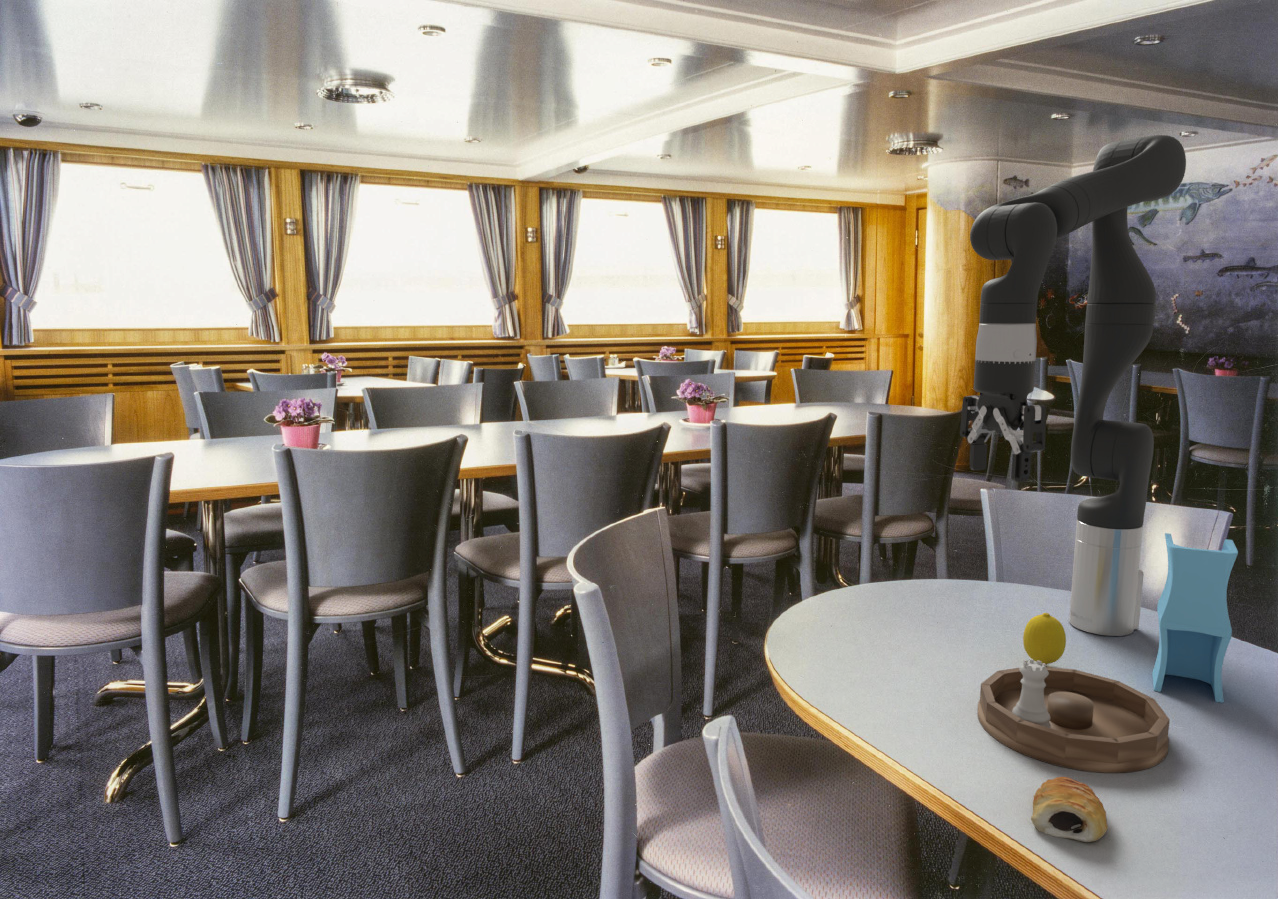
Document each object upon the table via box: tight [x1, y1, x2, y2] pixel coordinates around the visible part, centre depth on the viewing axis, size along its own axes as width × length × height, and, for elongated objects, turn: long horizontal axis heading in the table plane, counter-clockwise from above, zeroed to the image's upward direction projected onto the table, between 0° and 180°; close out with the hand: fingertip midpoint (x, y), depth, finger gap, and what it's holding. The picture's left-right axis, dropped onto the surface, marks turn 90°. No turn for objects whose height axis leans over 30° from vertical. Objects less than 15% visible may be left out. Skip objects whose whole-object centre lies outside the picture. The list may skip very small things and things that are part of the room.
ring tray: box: [977, 666, 1171, 774], centre depth 106 cm, size 21×21×4 cm
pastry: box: [1030, 776, 1109, 843], centre depth 88 cm, size 9×7×4 cm
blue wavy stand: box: [1151, 532, 1239, 704], centre depth 116 cm, size 8×8×20 cm
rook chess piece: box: [1012, 658, 1051, 728], centre depth 104 cm, size 4×4×8 cm
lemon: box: [1022, 612, 1067, 666], centre depth 124 cm, size 6×6×8 cm
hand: (997, 475), depth 120 cm, fingers open, 8 cm apart
